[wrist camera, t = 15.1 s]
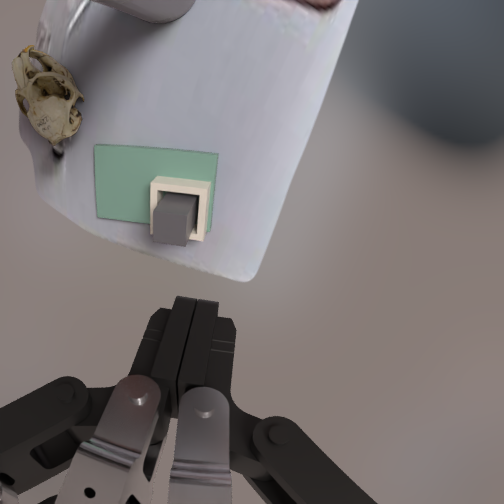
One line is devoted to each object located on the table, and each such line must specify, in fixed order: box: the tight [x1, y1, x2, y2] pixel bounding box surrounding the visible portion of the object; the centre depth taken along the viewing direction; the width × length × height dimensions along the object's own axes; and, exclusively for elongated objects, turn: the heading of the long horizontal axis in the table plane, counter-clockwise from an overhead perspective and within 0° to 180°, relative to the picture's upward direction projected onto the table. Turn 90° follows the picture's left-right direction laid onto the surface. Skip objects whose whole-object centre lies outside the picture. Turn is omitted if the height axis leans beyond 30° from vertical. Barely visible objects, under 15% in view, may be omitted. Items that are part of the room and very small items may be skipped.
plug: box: [153, 191, 199, 247], centre depth 42 cm, size 5×4×8 cm
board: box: [94, 144, 219, 232], centre depth 45 cm, size 12×19×1 cm, turn 82°
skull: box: [12, 45, 84, 146], centre depth 33 cm, size 10×16×10 cm, turn 14°
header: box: [150, 176, 211, 241], centre depth 44 cm, size 8×8×3 cm
